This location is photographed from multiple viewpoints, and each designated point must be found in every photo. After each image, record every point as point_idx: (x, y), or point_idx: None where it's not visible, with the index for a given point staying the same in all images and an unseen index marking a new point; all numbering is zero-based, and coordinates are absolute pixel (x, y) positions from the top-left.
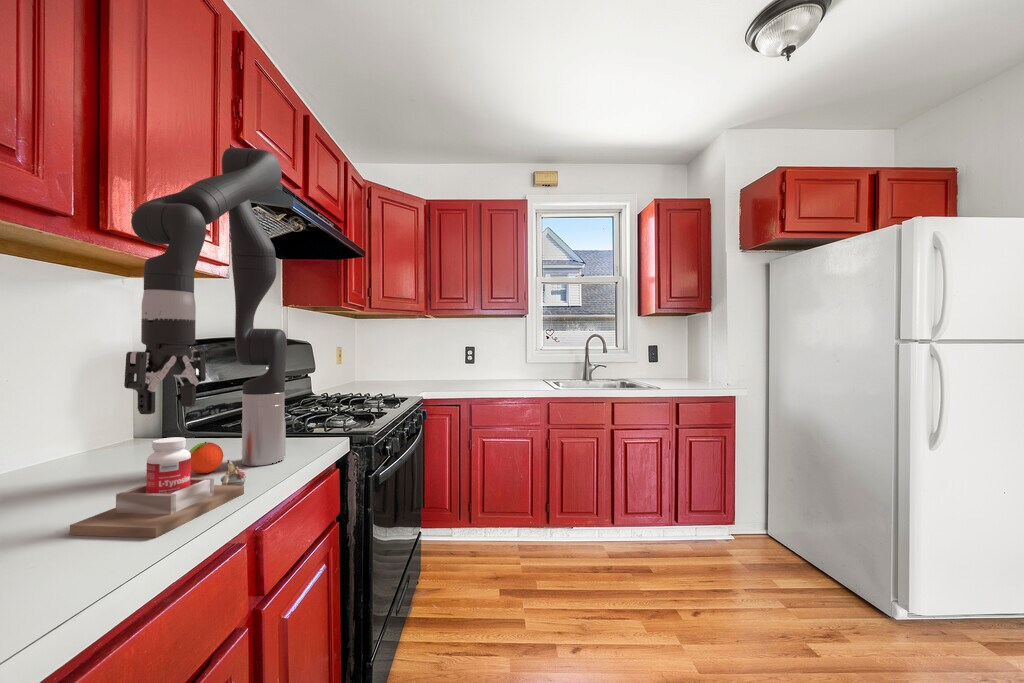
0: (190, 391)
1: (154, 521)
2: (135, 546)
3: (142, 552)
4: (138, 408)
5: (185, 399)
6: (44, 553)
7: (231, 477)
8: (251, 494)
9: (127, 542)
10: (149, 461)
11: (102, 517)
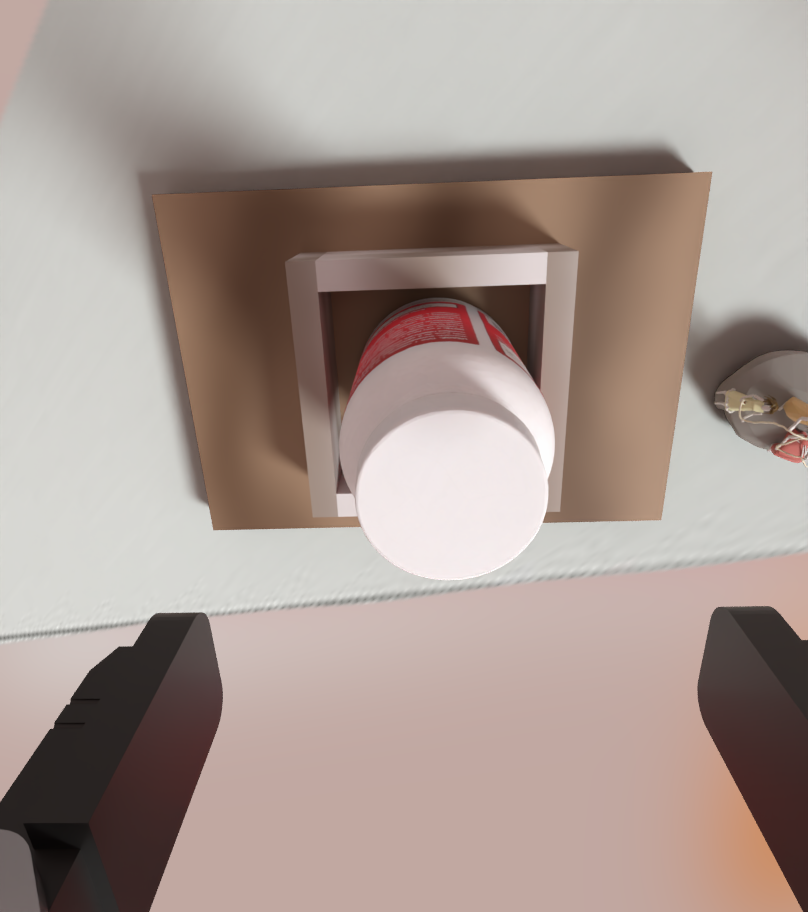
0: (791, 858)
1: (257, 481)
2: (163, 504)
3: (140, 553)
4: (94, 677)
5: (750, 702)
6: (40, 273)
7: (765, 415)
8: (639, 535)
9: (177, 458)
10: (343, 419)
11: (244, 251)
